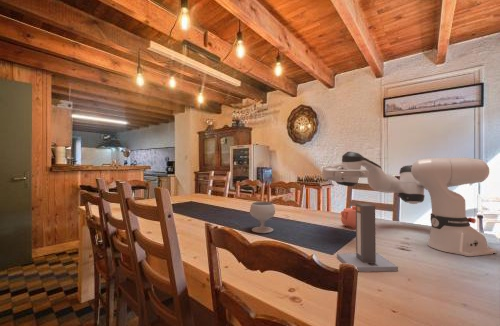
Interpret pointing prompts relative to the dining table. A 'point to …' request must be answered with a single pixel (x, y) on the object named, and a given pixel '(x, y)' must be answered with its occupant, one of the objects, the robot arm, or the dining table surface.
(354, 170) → the robot arm
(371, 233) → the tall taupe pillar
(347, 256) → the mounting plate
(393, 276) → the dining table surface
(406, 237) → the dining table surface
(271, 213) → the chalice
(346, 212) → the teapot
